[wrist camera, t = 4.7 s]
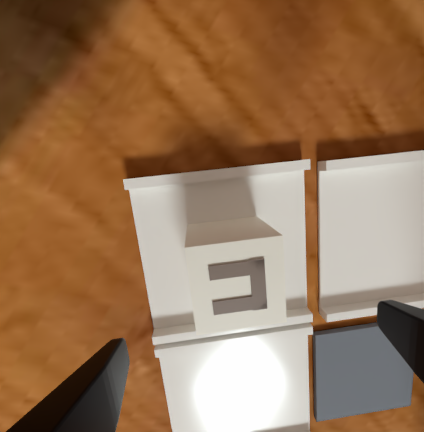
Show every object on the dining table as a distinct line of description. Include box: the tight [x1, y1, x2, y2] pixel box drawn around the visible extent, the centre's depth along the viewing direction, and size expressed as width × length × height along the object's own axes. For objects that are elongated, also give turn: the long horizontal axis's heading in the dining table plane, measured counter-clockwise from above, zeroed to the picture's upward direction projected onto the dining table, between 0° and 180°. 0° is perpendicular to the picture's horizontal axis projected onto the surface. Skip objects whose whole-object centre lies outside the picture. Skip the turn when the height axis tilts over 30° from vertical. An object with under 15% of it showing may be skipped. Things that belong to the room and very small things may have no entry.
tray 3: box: [317, 150, 424, 322], centre depth 15 cm, size 11×11×1 cm
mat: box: [313, 322, 413, 422], centre depth 18 cm, size 8×8×1 cm
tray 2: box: [154, 322, 313, 432], centre depth 17 cm, size 11×11×1 cm
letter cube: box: [184, 216, 287, 335], centre depth 13 cm, size 4×4×5 cm
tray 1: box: [123, 159, 313, 345], centre depth 15 cm, size 11×11×1 cm
